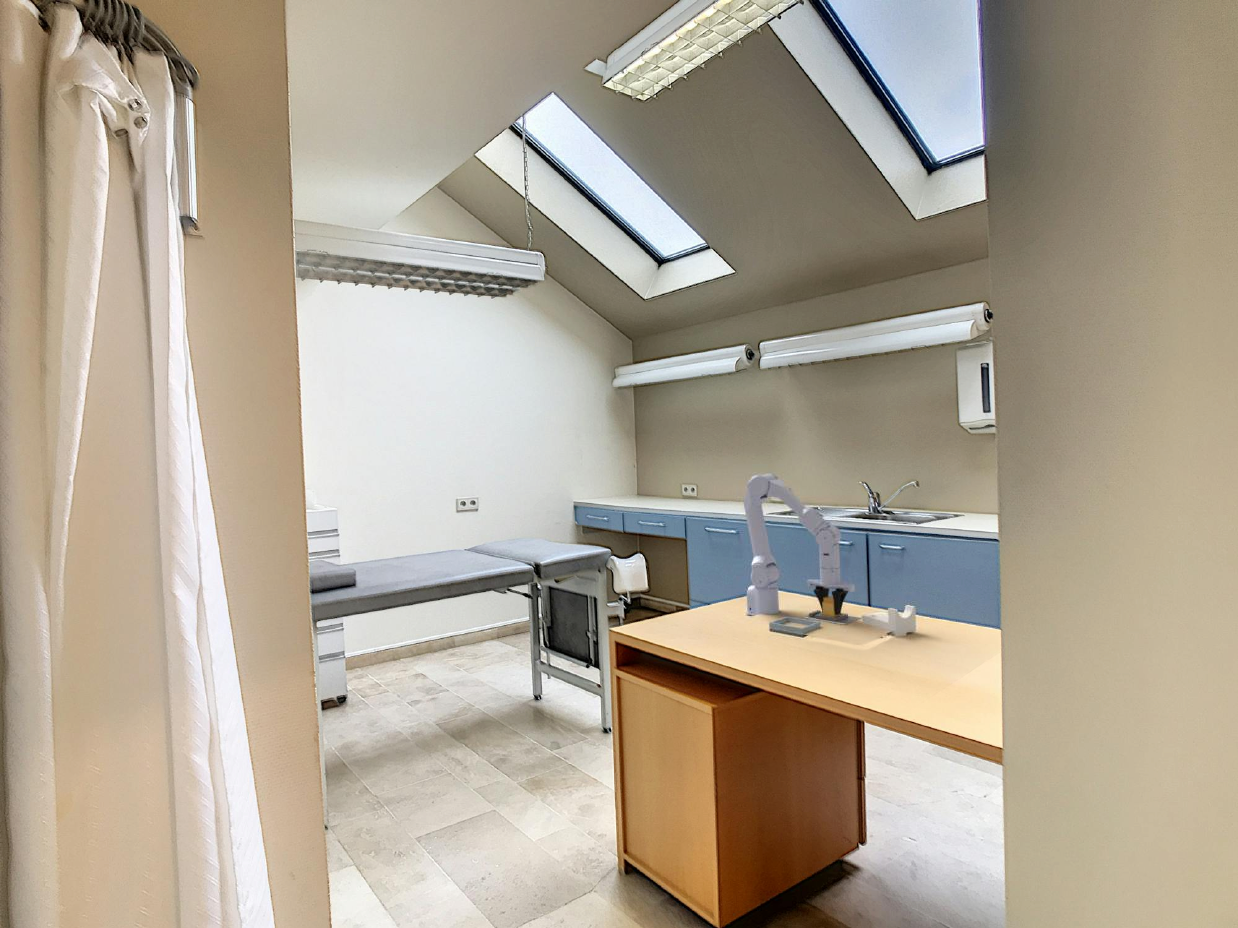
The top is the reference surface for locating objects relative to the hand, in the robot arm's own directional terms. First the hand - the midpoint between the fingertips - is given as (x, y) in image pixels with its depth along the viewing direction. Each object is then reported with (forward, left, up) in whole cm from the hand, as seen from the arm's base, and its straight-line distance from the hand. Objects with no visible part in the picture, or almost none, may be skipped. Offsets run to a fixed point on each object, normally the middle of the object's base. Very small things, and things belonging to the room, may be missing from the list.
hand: (831, 613), depth 210 cm
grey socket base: (0, 0, -3) cm, 3 cm away
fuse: (0, 0, -1) cm, 1 cm away
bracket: (+17, +2, -3) cm, 17 cm away
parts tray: (-3, -15, -3) cm, 16 cm away
